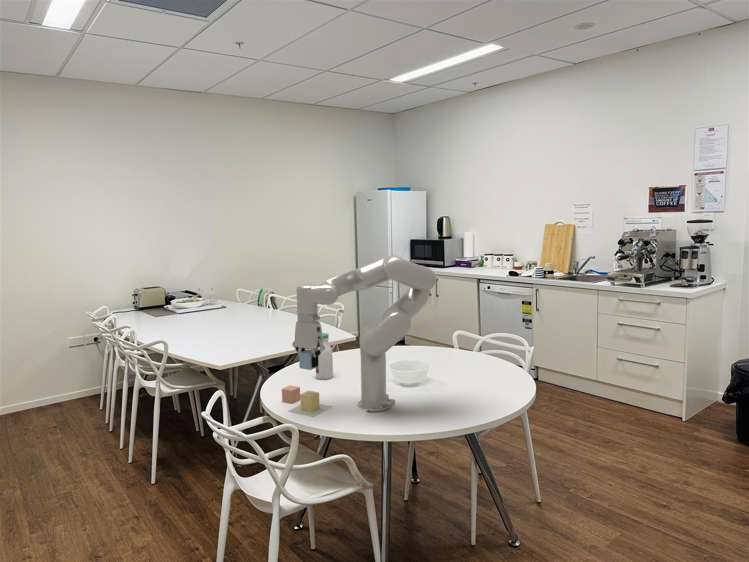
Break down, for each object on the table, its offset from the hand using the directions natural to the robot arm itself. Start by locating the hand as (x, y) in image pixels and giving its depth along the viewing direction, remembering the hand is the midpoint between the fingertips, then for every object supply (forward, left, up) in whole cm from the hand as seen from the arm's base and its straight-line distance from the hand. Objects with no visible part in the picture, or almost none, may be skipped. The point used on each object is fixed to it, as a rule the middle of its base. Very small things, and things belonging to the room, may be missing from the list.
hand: (309, 365), depth 203 cm
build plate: (0, 0, -17) cm, 17 cm away
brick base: (0, 0, -17) cm, 17 cm away
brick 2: (0, 0, -1) cm, 1 cm away
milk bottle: (+19, -37, -18) cm, 45 cm away
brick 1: (+12, -4, -18) cm, 21 cm away
